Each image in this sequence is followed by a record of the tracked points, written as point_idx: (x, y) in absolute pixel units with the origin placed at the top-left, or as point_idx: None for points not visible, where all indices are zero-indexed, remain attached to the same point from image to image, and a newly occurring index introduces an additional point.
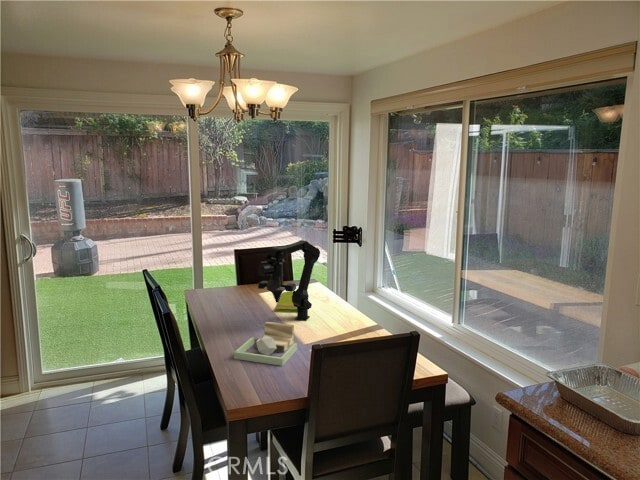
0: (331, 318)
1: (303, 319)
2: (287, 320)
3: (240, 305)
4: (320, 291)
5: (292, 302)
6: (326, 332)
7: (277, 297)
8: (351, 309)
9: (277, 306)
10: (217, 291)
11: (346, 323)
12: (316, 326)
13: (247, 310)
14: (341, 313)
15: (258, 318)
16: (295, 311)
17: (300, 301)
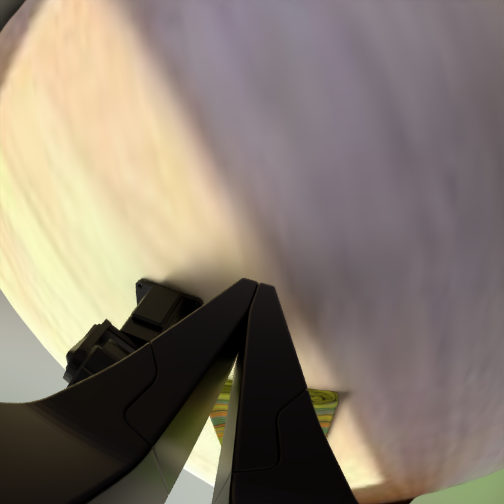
0: (63, 300)
1: (150, 287)
2: None
3: (467, 424)
4: (201, 473)
5: None
6: (21, 130)
7: (194, 344)
8: (60, 363)
9: (323, 428)
10: (485, 468)
11: (9, 246)
12: (70, 201)
13: (459, 395)
14: (63, 340)
15: (432, 316)
16: (227, 384)
17: (86, 360)
